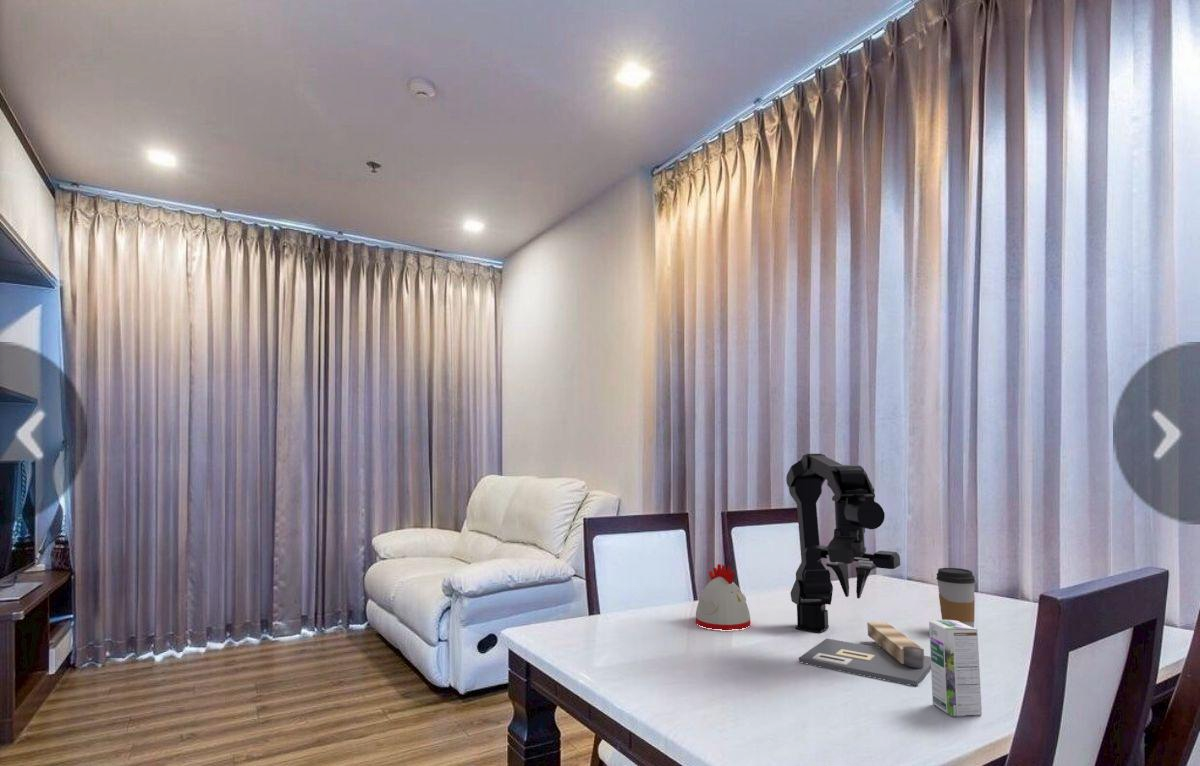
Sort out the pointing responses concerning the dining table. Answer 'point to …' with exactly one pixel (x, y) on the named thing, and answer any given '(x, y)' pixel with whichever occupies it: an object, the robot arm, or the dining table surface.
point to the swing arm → (896, 644)
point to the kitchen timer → (722, 603)
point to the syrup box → (955, 667)
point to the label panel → (864, 661)
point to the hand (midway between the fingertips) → (852, 597)
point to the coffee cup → (956, 595)
